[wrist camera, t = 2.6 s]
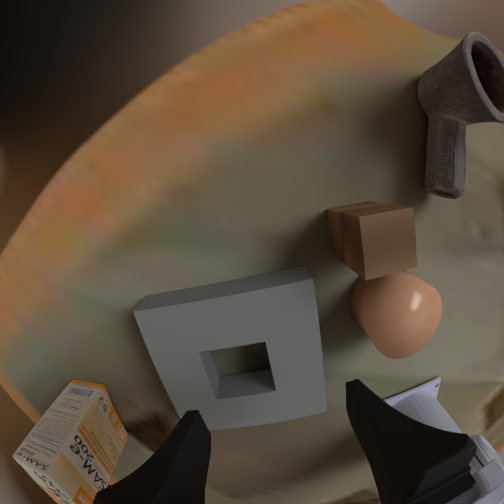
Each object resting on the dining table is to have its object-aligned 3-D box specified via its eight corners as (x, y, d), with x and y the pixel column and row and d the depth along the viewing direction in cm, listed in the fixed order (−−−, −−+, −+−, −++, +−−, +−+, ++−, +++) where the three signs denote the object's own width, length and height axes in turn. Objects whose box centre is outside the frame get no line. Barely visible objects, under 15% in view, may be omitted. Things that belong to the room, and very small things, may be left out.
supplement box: (131, 435, 24) (97, 522, 11) (97, 428, 24) (58, 505, 11) (106, 382, 22) (48, 478, 9) (71, 376, 22) (9, 456, 9)
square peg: (374, 246, 19) (416, 266, 14) (333, 255, 20) (365, 280, 14) (369, 201, 19) (412, 207, 13) (326, 208, 19) (359, 216, 13)
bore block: (319, 389, 22) (326, 411, 19) (192, 409, 23) (187, 431, 20) (303, 265, 20) (313, 278, 17) (147, 295, 20) (133, 311, 17)
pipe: (398, 184, 18) (468, 185, 11) (406, 50, 16) (456, 13, 8) (451, 203, 19) (518, 213, 11) (456, 78, 16) (510, 56, 8)
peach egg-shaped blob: (408, 317, 21) (438, 343, 16) (351, 334, 21) (373, 368, 16) (407, 256, 20) (443, 273, 15) (346, 271, 20) (373, 295, 15)
